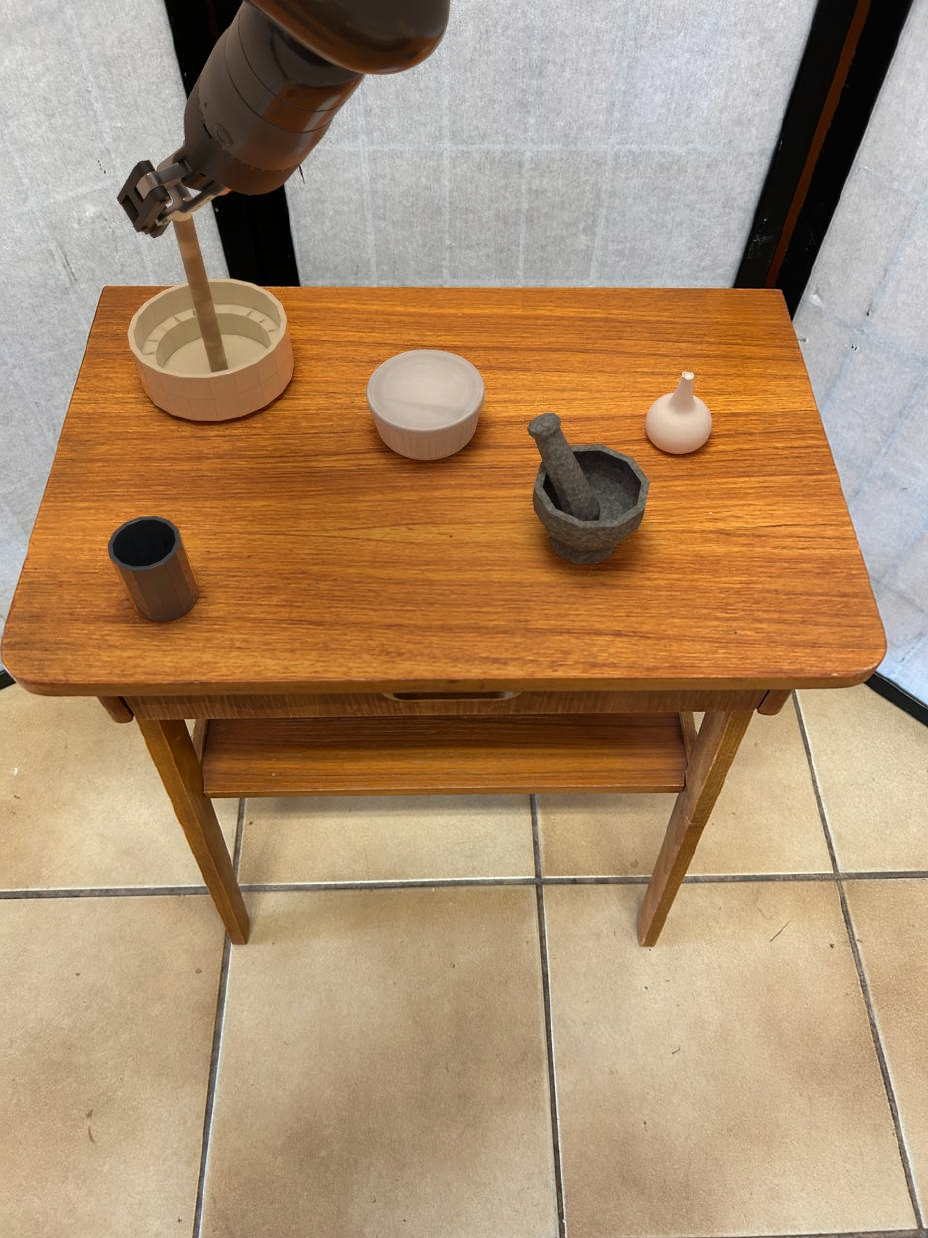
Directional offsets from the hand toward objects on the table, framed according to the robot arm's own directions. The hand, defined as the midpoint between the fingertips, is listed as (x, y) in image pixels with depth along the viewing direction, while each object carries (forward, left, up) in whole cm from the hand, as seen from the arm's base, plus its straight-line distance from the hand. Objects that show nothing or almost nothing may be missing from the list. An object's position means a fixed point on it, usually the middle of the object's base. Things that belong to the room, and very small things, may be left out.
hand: (197, 202), depth 72 cm
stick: (-1, +11, -24) cm, 26 cm away
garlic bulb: (+40, -11, -25) cm, 48 cm away
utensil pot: (-10, -16, -25) cm, 31 cm away
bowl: (-1, +11, -25) cm, 27 cm away
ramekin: (+17, -3, -25) cm, 30 cm away
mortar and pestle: (+26, -20, -25) cm, 41 cm away
